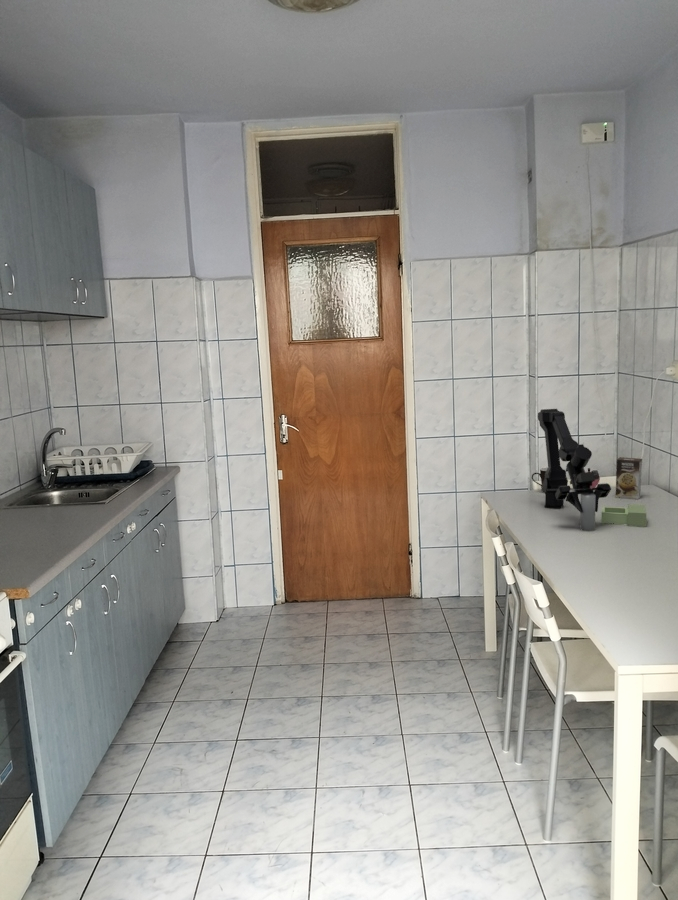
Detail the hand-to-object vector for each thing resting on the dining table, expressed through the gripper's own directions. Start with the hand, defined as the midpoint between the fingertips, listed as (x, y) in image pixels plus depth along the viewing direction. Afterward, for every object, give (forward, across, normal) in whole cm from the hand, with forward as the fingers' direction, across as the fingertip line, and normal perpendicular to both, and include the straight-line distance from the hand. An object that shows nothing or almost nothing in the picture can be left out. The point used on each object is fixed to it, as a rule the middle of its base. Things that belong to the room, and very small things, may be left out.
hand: (589, 511), depth 259 cm
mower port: (-1, +16, +10) cm, 19 cm away
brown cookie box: (-25, +35, +35) cm, 55 cm away
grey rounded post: (+4, 0, +6) cm, 7 cm away
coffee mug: (-37, +6, +47) cm, 60 cm away
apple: (-35, +23, +44) cm, 61 cm away
